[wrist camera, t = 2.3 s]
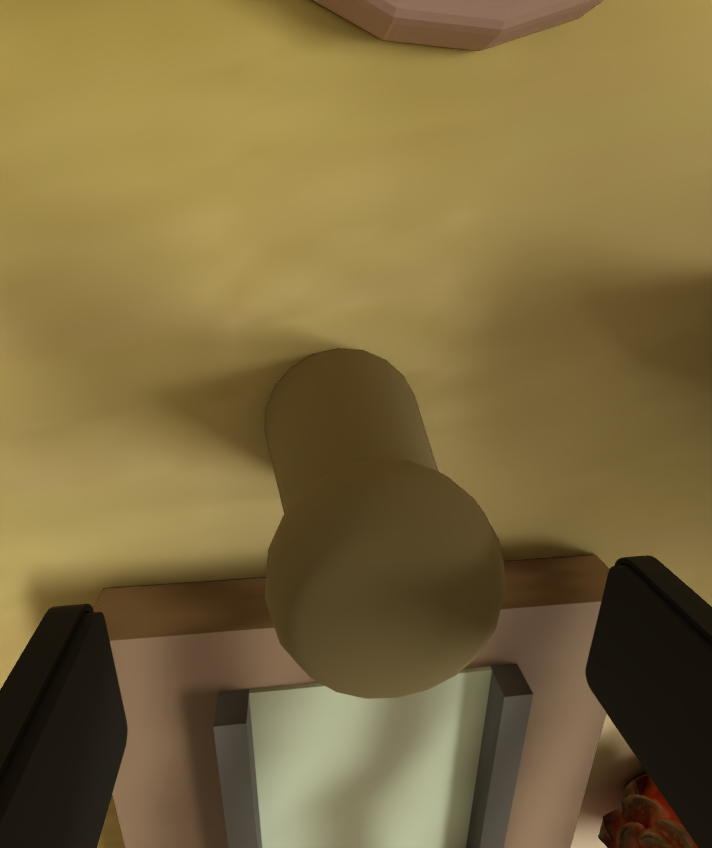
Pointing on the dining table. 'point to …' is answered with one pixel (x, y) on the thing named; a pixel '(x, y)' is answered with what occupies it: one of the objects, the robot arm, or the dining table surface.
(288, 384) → the brown rounded bulbous piece
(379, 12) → the hourglass
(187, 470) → the dining table surface
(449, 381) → the dining table surface
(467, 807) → the dock
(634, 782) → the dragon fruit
